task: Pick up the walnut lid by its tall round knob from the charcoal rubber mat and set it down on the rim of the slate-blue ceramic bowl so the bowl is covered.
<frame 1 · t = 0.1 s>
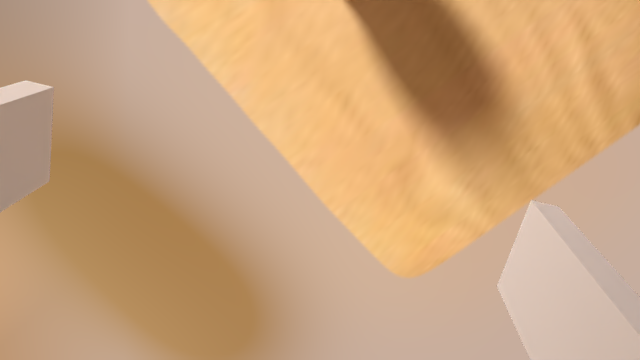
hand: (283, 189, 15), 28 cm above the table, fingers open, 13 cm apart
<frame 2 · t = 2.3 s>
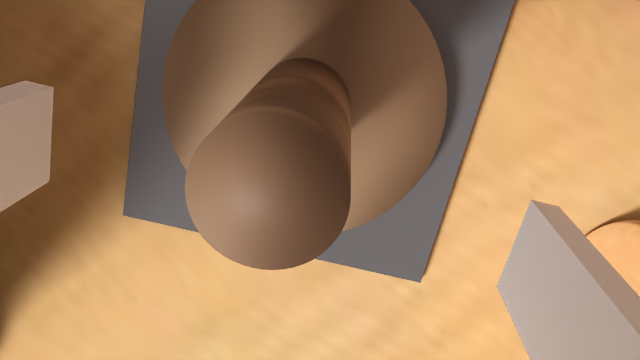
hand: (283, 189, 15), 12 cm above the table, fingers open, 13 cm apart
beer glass: (619, 269, 28), on the table
mat: (305, 100, 26), on the table
lid: (304, 102, 25), resting on mat
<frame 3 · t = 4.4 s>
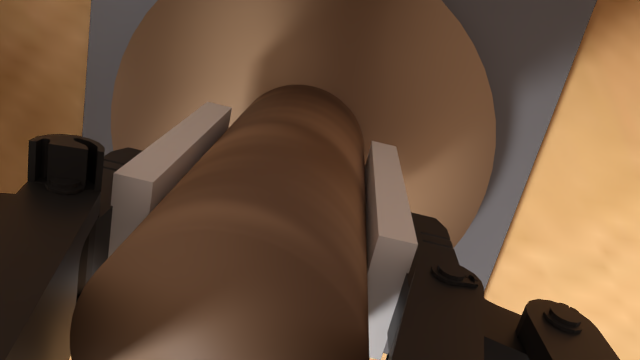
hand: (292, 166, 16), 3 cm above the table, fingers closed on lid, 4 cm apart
mat: (305, 138, 19), on the table
lid: (302, 141, 19), resting on mat, touching gripper
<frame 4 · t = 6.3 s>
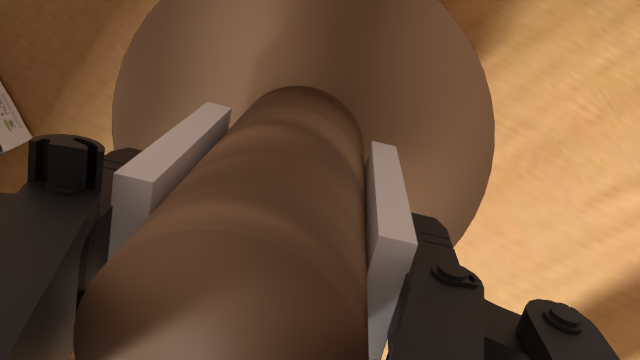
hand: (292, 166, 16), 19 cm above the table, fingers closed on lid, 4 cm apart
lid: (302, 142, 19), point 16 cm above the table, touching gripper
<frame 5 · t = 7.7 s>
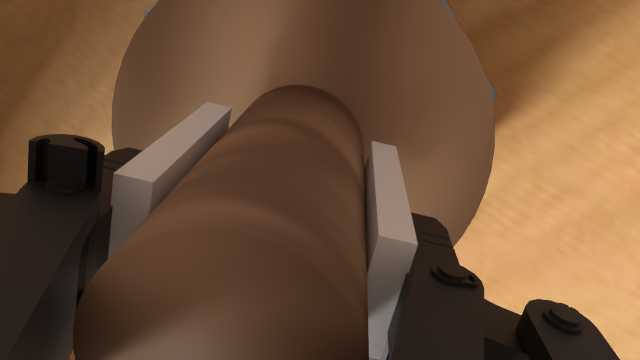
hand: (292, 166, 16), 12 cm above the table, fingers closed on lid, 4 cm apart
lid: (302, 141, 19), point 9 cm above the table, touching gripper
when the fingers open (10 cm above the table, at t = 8.6 s): lid drops 1 cm, resting on bowl.
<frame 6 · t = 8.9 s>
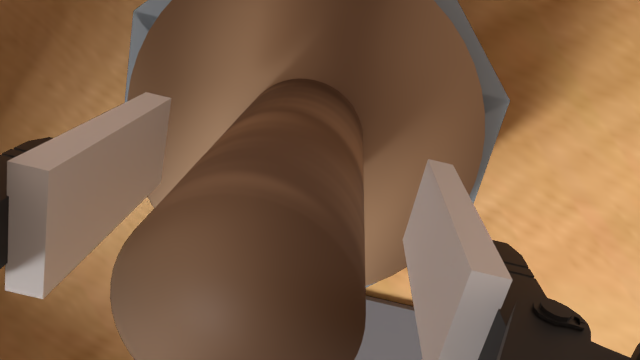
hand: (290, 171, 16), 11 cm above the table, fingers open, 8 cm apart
lid: (304, 132, 20), point 6 cm above the table, touching bowl
bowl: (317, 99, 26), on the table
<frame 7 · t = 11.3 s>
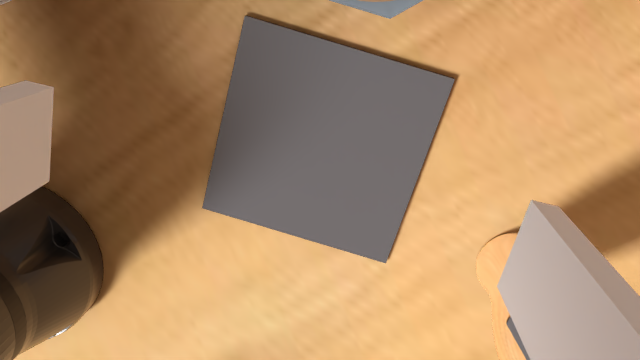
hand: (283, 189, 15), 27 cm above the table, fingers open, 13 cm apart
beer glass: (512, 263, 44), on the table
mat: (320, 146, 42), on the table
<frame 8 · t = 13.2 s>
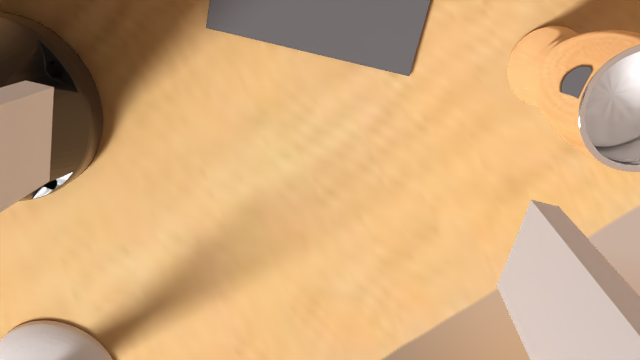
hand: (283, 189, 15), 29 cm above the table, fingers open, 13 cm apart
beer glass: (546, 66, 41), on the table
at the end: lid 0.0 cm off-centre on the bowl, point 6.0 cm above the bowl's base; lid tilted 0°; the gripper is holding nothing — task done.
